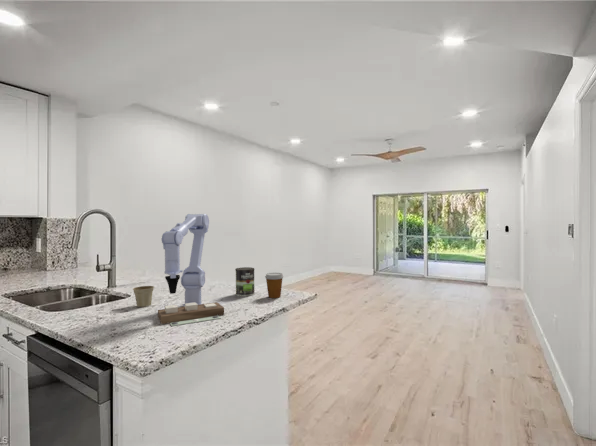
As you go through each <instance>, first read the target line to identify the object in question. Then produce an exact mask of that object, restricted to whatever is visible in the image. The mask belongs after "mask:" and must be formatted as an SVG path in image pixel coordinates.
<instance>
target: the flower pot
mask: <svg viewBox="0 0 596 446" xmlns="http://www.w3.org/2000/svg"><path fill="white" fill-rule="evenodd" d="M154 289H155V286H154V285H143V286H136V287H133V288H132V290H133V293H134V296H135V302H136V307H138V308H146V307H149V306H151V305H152V300H153V294H154V293H153V292H154Z"/></svg>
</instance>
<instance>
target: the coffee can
mask: <svg viewBox="0 0 596 446" xmlns="http://www.w3.org/2000/svg"><path fill="white" fill-rule="evenodd" d="M234 271H235V296H238V297H250V296H254V295H255V267H249V266H248V267H247V266H246V267H245V266H244V267H237V268H235V270H234Z"/></svg>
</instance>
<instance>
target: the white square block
mask: <svg viewBox="0 0 596 446" xmlns="http://www.w3.org/2000/svg"><path fill="white" fill-rule="evenodd" d="M210 303H211V304H207V303H203V304H204V307H205V308H212V307H217V305H216V304H214V303H215V302H210Z"/></svg>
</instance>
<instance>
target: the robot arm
mask: <svg viewBox="0 0 596 446" xmlns="http://www.w3.org/2000/svg"><path fill="white" fill-rule="evenodd" d="M209 225H210V218H209V216H208V214H207V213H195V214H193V213H188V214H186V215H185V219H184V221H183V222H177V223H176V225H175V226H173V227H172V228H171V229H170V230H169V231H165V232H163V233H162V235H161V243H162V247H163V250H164V274H166V275H167V276H165V277H164V278H165V280H166V282H167V285H168V289H169V290H168V291H169V294H170V295H171V294H173V295H174V294H176V292H177V287H178V283H179V280H180V285H181V286H182V287H183V289H184V303H183V304H182V307H185V304H186V303H194V302H196V303H197V304H198V305H200V304H202V288H203V287H204V285H205V283H206V271H205V270H204V269H202V267H201V262H202V256H203V250H204V249H203V248H204V243H205V237H206V233H208V231H209ZM189 232H190V233H191V234H193V239H192V244H191V253H190V258H189V264H188V267H186V268H185V269H181V267H180V266H181V263H180V262H181V259H180V258H181V256H180V251H181V250H180V245H182V242H183V239H184V237H185V236H186V235H187V234H188V233H189ZM180 273H182V275H181V276H180Z"/></svg>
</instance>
